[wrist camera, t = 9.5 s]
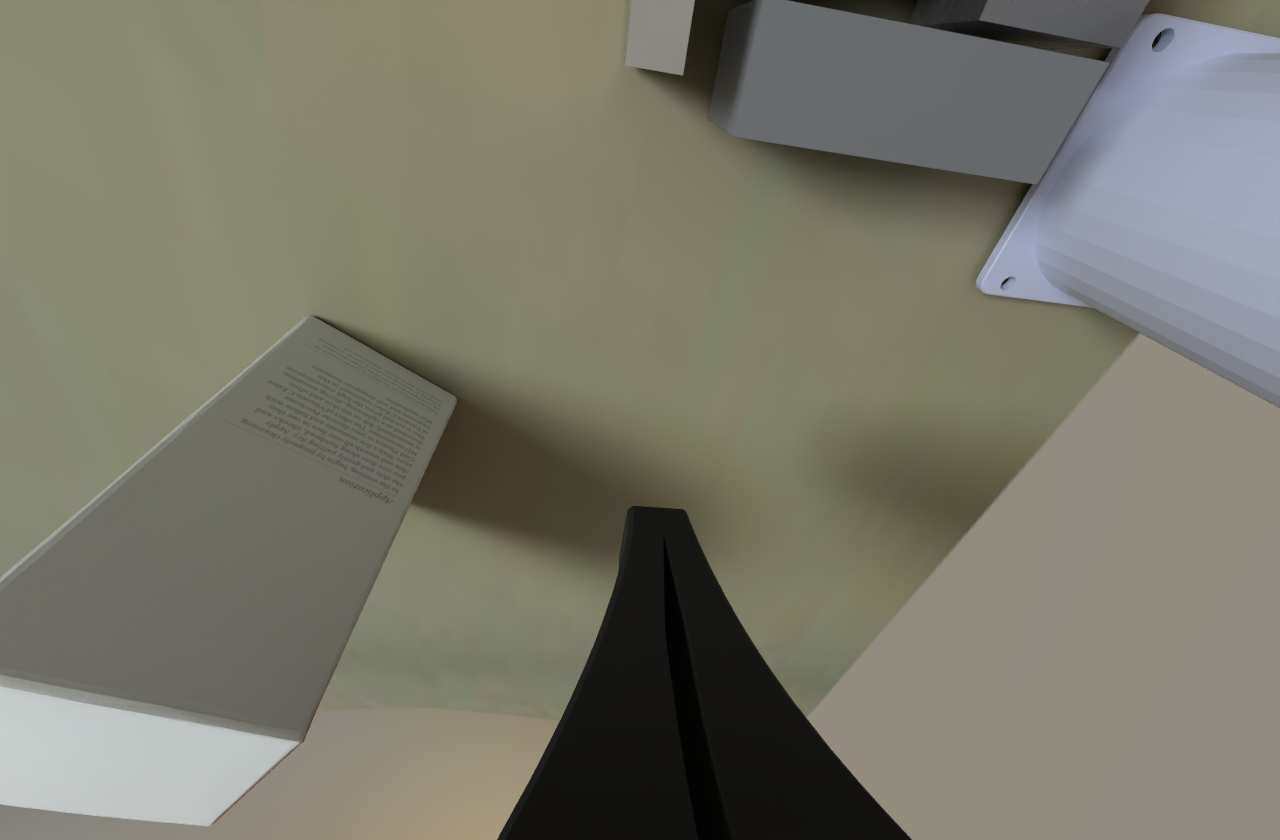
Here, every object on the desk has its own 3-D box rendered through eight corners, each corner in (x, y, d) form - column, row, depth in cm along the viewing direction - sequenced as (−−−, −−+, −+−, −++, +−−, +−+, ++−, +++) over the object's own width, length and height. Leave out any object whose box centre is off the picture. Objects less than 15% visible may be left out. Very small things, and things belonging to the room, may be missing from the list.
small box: (386, 497, 24) (210, 832, 14) (248, 436, 21) (-102, 796, 11) (464, 396, 20) (305, 749, 10) (309, 307, 18) (-127, 665, 7)
